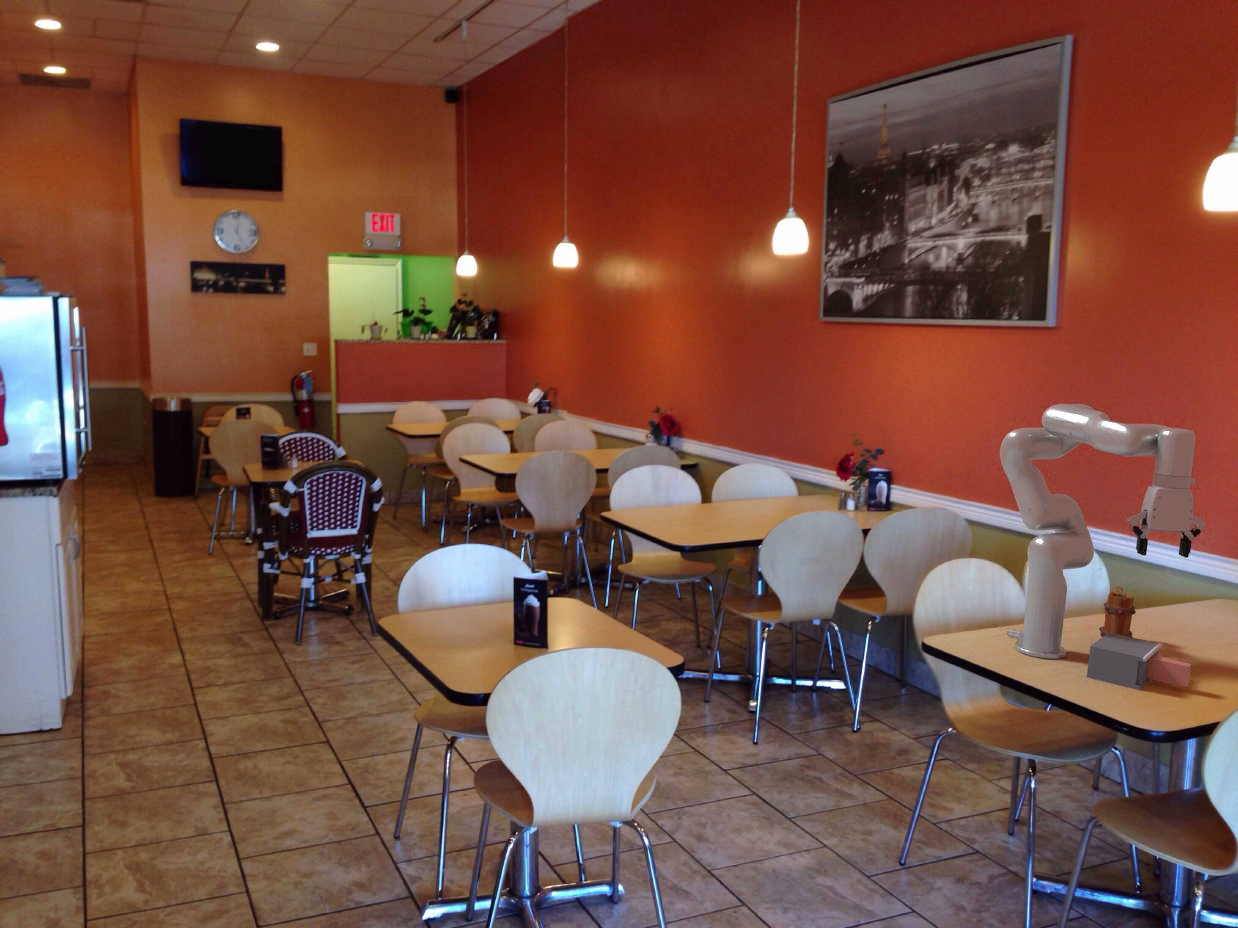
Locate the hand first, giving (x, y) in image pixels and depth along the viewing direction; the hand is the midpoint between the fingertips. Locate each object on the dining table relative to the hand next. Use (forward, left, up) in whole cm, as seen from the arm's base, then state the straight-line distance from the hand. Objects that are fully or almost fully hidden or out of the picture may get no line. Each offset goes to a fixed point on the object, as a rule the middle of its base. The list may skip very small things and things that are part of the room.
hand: (1162, 555), depth 240 cm
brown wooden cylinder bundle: (-17, +38, -34) cm, 53 cm away
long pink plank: (-2, +10, -32) cm, 34 cm away
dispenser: (-8, +10, -34) cm, 36 cm away
